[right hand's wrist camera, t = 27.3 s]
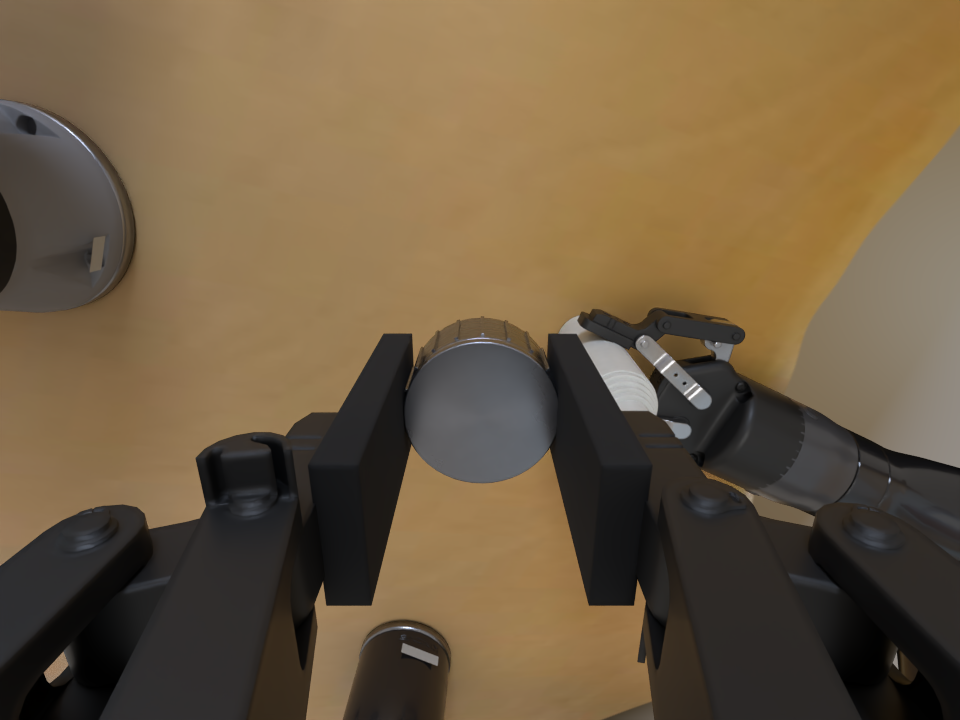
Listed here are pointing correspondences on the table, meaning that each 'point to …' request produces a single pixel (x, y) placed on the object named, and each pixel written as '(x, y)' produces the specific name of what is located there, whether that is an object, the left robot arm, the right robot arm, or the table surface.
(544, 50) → the table surface
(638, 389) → the bottle
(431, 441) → the cap
